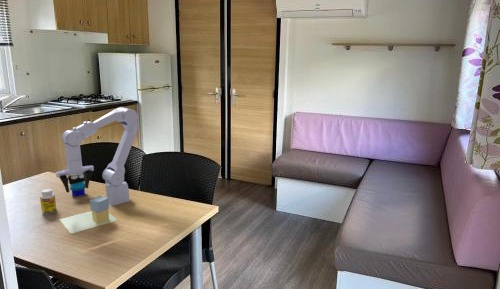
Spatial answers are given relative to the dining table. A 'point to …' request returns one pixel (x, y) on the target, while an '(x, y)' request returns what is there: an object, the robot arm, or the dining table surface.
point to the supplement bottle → (48, 201)
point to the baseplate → (83, 222)
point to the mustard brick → (100, 216)
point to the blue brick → (99, 204)
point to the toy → (77, 184)
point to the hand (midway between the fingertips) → (77, 189)
